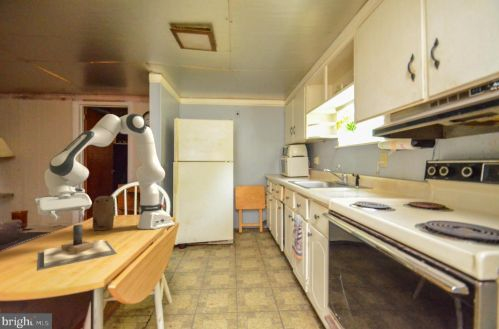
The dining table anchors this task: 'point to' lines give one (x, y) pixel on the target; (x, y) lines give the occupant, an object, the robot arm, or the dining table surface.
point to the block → (103, 213)
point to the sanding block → (77, 242)
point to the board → (59, 257)
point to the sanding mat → (41, 262)
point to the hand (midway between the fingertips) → (70, 217)
